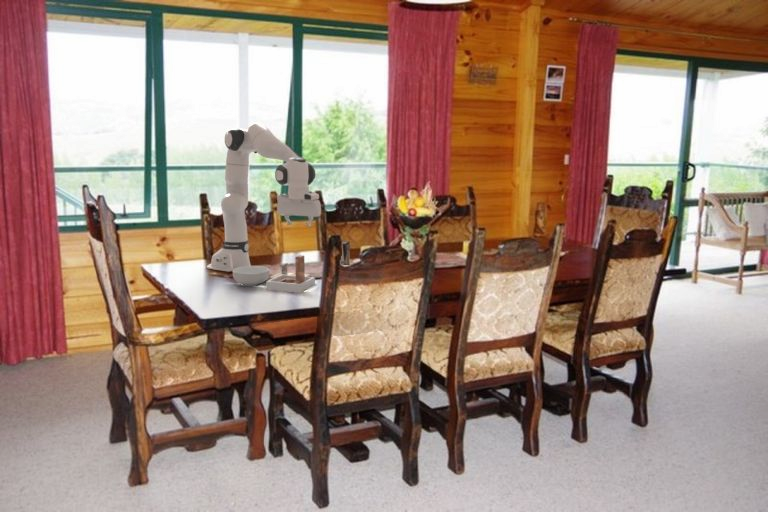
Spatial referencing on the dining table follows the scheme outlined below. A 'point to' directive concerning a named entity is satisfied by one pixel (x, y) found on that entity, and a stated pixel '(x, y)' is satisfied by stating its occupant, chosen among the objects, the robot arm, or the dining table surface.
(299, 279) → the tabbed ring
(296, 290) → the grey tray
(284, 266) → the stake board
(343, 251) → the coffee box
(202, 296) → the dining table surface
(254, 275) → the cereal bowl
